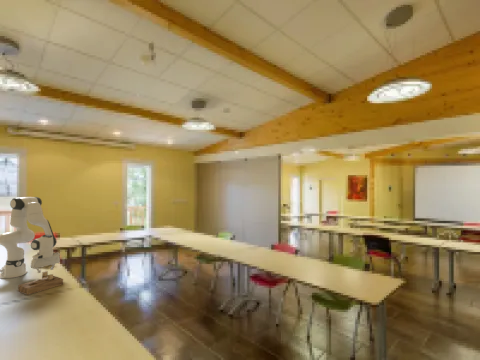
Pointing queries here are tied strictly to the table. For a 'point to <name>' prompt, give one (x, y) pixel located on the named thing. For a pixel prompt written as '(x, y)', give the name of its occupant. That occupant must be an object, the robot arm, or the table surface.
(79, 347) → the table surface
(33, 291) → the board
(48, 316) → the table surface
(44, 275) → the leg
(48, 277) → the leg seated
